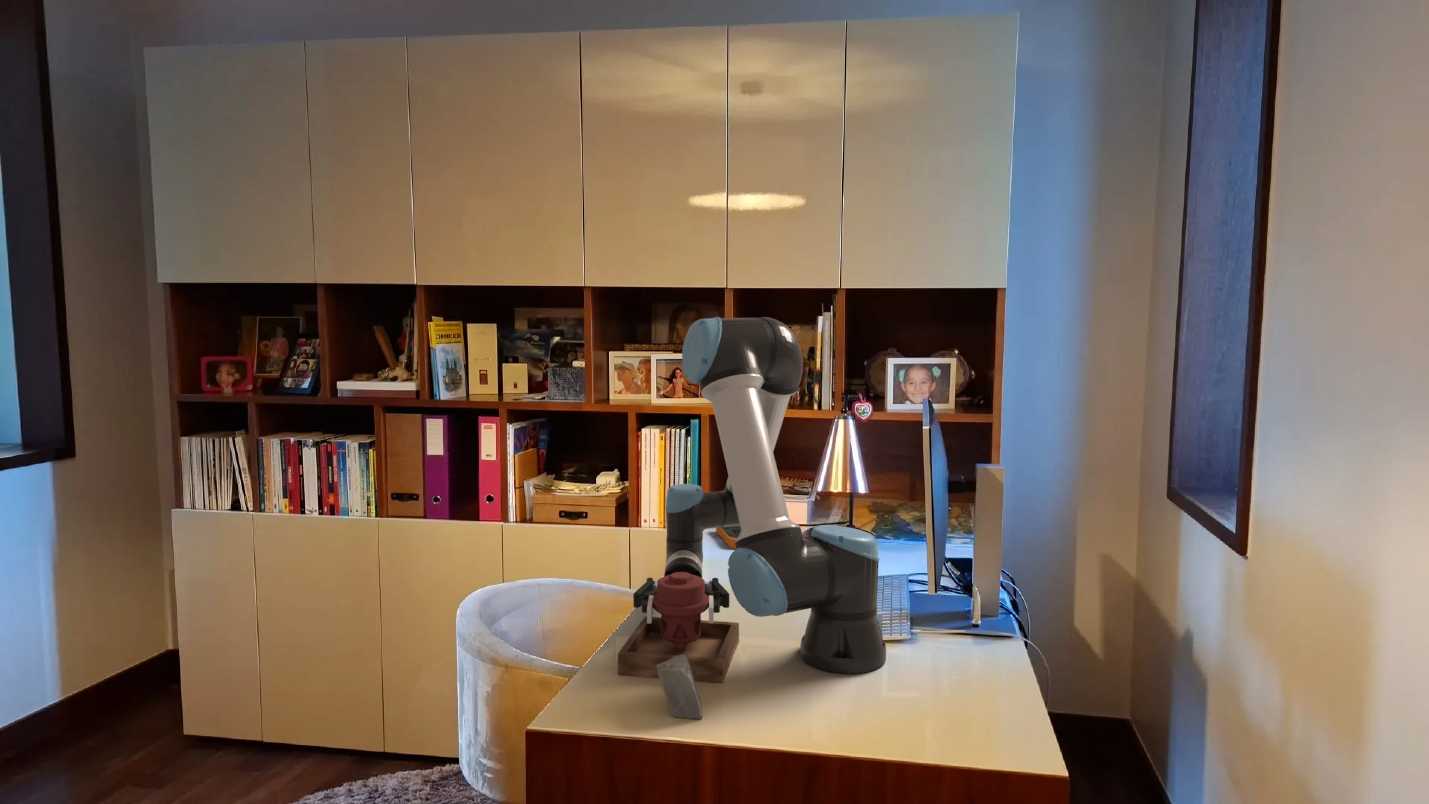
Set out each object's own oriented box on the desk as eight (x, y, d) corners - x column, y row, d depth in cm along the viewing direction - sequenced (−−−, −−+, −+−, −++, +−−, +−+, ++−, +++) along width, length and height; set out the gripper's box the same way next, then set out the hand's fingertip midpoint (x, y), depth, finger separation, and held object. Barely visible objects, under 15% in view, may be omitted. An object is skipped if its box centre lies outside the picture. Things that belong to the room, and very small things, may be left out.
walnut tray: (738, 641, 163) (739, 622, 162) (722, 683, 145) (722, 661, 145) (645, 635, 166) (645, 616, 165) (617, 674, 148) (617, 653, 148)
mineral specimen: (696, 689, 141) (700, 647, 138) (707, 725, 133) (711, 680, 131) (651, 692, 139) (654, 649, 137) (659, 729, 131) (662, 683, 129)
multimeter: (730, 551, 222) (730, 538, 222) (715, 533, 240) (715, 521, 239) (763, 549, 224) (763, 536, 224) (745, 532, 242) (745, 519, 241)
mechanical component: (709, 632, 160) (708, 654, 150) (654, 631, 160) (650, 653, 150) (709, 566, 159) (708, 584, 149) (654, 566, 159) (650, 584, 149)
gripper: (740, 593, 173) (745, 636, 151) (626, 593, 173) (614, 637, 150) (740, 556, 172) (746, 594, 150) (625, 556, 172) (614, 594, 150)
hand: (680, 615), depth 150 cm, fingers closed on mechanical component, 10 cm apart
